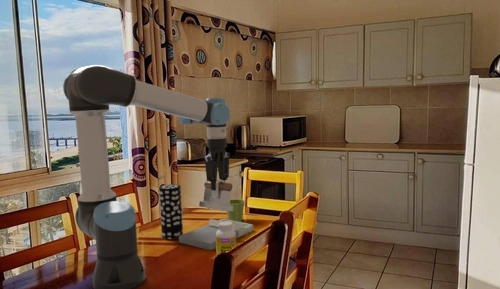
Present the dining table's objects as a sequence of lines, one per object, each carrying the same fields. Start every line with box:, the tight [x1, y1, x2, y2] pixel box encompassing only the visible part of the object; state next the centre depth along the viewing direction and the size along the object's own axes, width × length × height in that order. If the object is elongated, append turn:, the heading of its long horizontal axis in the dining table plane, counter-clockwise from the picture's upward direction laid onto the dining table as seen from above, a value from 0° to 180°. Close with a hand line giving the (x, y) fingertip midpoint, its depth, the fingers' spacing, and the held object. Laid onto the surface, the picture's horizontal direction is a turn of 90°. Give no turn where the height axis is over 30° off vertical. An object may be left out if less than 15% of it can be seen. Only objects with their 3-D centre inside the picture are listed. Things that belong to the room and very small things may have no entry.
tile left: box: [208, 218, 222, 227], centre depth 169 cm, size 6×6×2 cm
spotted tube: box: [158, 184, 184, 240], centre depth 165 cm, size 8×8×20 cm
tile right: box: [232, 223, 244, 231], centre depth 165 cm, size 6×6×2 cm
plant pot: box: [226, 198, 246, 222], centre depth 183 cm, size 9×9×9 cm
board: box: [178, 224, 239, 251], centre depth 159 cm, size 16×16×2 cm
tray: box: [218, 218, 254, 238], centre depth 170 cm, size 10×16×2 cm, turn 53°
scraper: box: [198, 180, 233, 212], centre depth 162 cm, size 4×14×10 cm, turn 53°
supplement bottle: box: [215, 221, 237, 255], centre depth 138 cm, size 7×7×13 cm
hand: (218, 197), depth 163 cm, fingers closed on scraper, 3 cm apart
